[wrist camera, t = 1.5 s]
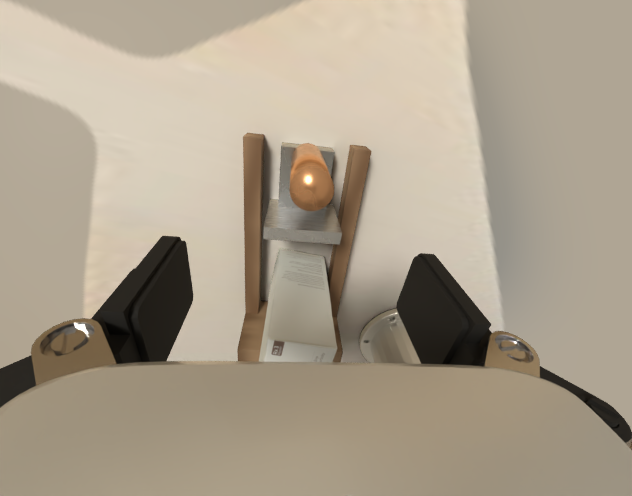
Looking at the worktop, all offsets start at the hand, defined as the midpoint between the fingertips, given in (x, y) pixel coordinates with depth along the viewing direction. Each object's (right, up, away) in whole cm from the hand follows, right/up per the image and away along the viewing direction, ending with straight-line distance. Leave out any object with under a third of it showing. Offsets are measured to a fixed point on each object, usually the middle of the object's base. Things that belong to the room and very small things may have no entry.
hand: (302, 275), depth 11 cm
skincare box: (-2, -2, +24) cm, 24 cm away
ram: (-1, +8, +18) cm, 20 cm away
